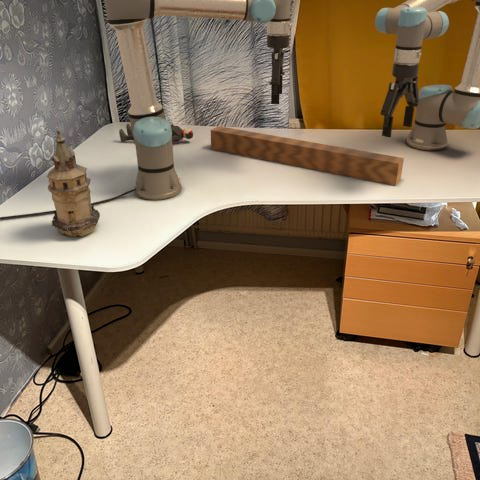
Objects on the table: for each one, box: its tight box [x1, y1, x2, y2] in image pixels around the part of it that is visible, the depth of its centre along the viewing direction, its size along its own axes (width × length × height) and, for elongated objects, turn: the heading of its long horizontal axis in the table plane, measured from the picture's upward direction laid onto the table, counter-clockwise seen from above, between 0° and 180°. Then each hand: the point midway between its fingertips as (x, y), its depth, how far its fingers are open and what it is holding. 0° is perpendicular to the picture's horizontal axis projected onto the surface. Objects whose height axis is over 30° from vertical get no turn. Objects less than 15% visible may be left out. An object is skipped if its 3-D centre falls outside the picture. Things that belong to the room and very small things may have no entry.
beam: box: [210, 125, 405, 186], centre depth 196 cm, size 74×6×8 cm, turn 59°
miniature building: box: [46, 129, 101, 237], centre depth 148 cm, size 13×14×30 cm
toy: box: [118, 123, 194, 144], centre depth 221 cm, size 26×6×30 cm
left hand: (276, 98), depth 187 cm, fingers open, 13 cm apart
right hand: (397, 131), depth 172 cm, fingers open, 13 cm apart
